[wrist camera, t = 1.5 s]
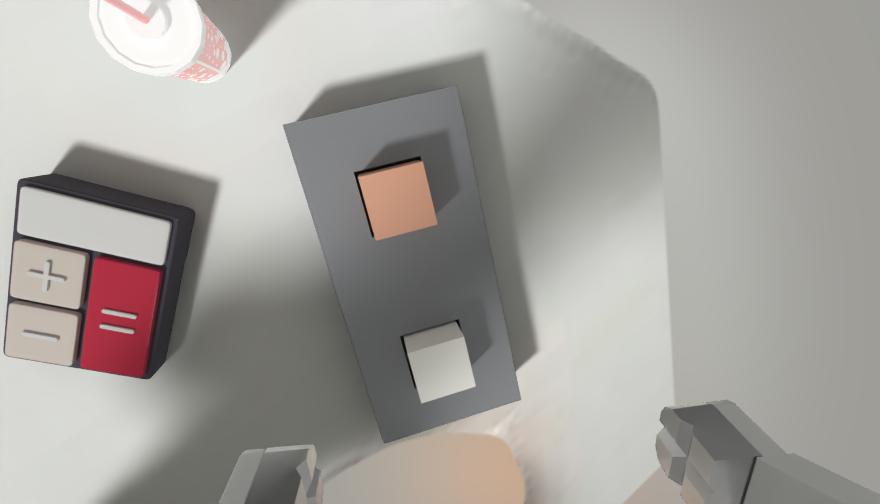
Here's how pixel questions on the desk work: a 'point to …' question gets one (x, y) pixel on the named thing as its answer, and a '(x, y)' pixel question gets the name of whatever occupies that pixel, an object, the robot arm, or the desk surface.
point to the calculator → (94, 276)
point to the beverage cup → (161, 38)
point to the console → (407, 254)
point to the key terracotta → (398, 199)
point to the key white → (439, 361)
